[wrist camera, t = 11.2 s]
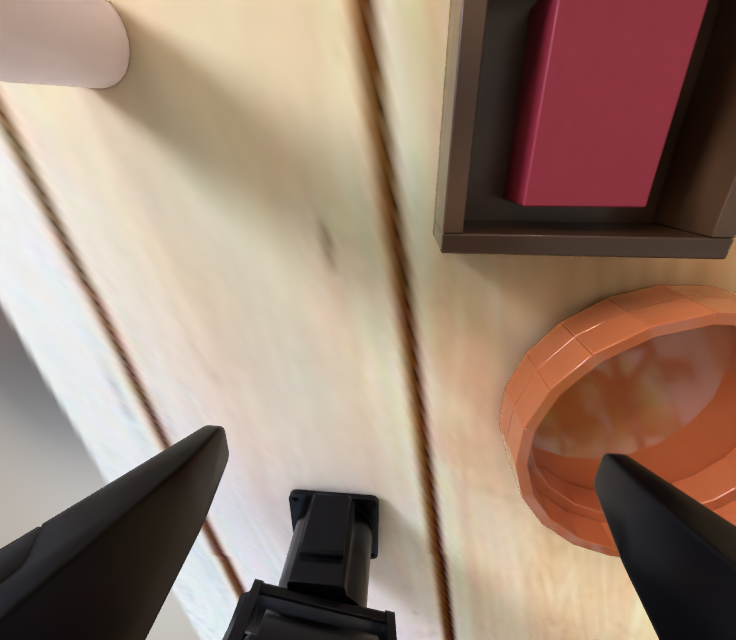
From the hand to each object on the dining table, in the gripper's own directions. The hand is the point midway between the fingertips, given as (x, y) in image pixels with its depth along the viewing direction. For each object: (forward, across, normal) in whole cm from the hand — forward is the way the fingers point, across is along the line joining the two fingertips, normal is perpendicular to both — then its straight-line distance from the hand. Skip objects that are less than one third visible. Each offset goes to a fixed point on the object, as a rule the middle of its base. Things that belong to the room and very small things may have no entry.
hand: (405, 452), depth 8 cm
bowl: (+12, -14, +6) cm, 19 cm away
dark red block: (+11, -7, -8) cm, 15 cm away
